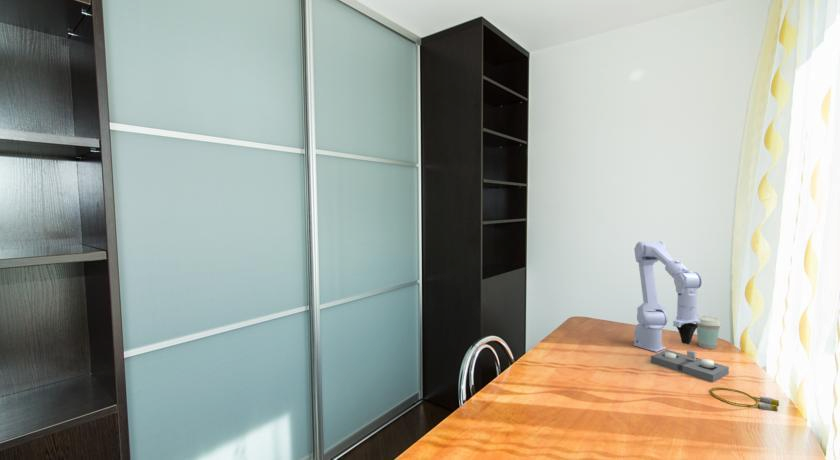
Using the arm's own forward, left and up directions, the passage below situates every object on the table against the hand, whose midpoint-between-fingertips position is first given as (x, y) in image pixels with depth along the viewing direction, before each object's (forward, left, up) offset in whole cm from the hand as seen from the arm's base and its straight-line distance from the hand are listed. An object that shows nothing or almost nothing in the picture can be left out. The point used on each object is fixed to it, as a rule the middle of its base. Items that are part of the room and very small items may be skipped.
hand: (686, 343), depth 138 cm
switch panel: (0, +2, -9) cm, 10 cm away
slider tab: (0, +4, -7) cm, 8 cm away
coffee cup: (-6, +32, -10) cm, 33 cm away
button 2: (+6, +2, -7) cm, 9 cm away
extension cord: (+20, -11, -10) cm, 25 cm away
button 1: (-6, +2, -8) cm, 10 cm away
